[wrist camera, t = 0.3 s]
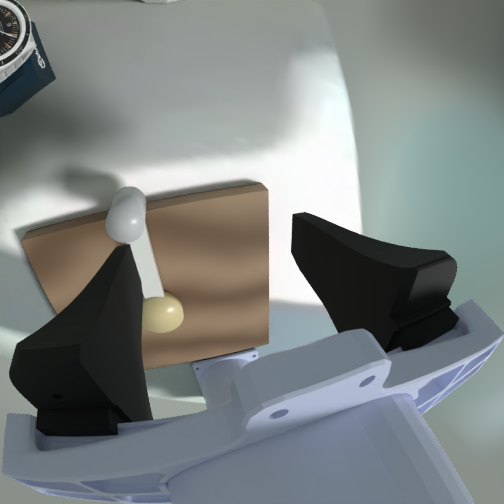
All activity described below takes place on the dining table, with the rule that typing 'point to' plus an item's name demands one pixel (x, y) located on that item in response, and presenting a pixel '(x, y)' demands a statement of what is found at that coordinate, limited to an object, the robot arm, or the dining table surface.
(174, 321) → the lever
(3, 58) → the watch
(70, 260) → the brown wooden board
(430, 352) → the robot arm
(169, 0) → the white cup
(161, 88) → the dining table surface
